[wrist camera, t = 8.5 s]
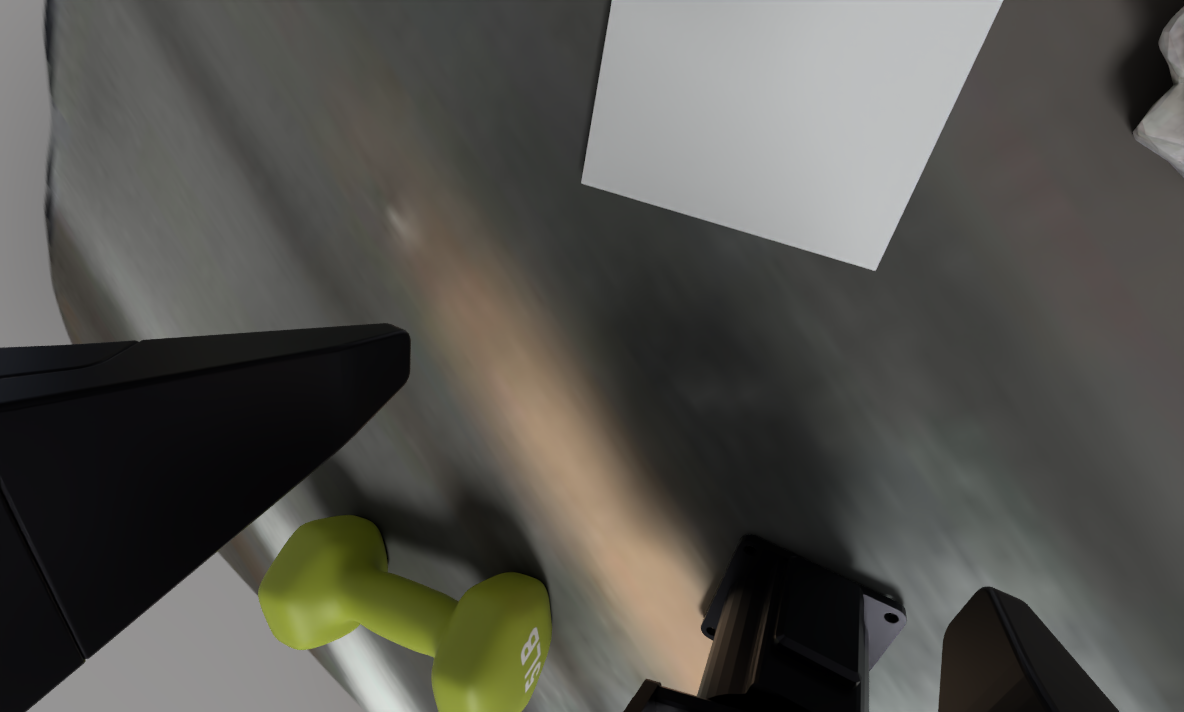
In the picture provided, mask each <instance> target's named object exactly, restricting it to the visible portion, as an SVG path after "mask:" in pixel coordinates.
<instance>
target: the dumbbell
mask: <svg viewBox="0 0 1184 712" xmlns="http://www.w3.org/2000/svg"><path fill="white" fill-rule="evenodd" d="M258 597H259V602H260V605H261V608H262V611H263V613H264V616H265V618H266V620H267V623H268V625H269V627H270V629H271V631H272V633H273V635H274V636H275V637H276V638H277V639H278V640H279V641H280V642H282V643H284V644H285V645H287V646H289V647H291V648H294V649H297V650H306V649H311V648H315V647H318V646H322V645H324V644H327V643H330V642H332V641H334V640H337V639H339V638H341V637H343V636H345V635H347V634H348V633H350V632H352V631H353V630H355V629H356V628H357V627H358V626H359V625H360V624H361V625H363V626H364V627H366V628H368V629H369V630H371V631H373V632H374V633H376V634H378V635H380V636H382V637H384V638H386V639H388V640H391V641H393V642H395V643H397V644H399V645H402V646H404V647H406V648H409V649H411V650H414V651H417V652H420V653H423V654H427V655H430V656H432V657H434V662H433V667H432V687H433V692H434V696H435V701H436V704H437V707H438V711H439V712H521V711H522V710H523V709H524V708H525V706H526V705H527V703H528V702H529V700H530V698H531V696H532V693H533V691H534V689H535V686H536V684H537V681H538V679H539V676H540V673H541V671H542V668H543V665H544V662H545V659H546V657H547V653H548V650H549V646H550V642H551V636H552V622H551V613H550V603H549V597H548V593H547V590H546V588H545V586H544V585H543V583H542V582H541V581H539V580H537V579H535V578H533V577H530V576H527V575H524V574H520V573H516V572H506V573H502V574H499V575H496V576H493V577H491V578H489V579H487V580H485V581H482V582H480V583H478V584H476V585H475V586H473V587H471V588H470V589H469V590H467V591H466V592H465V594H464V595H463V596H462V598H461V599H460V600H459V601H457V600H455V599H453V598H451V597H450V596H448V595H446V594H444V593H441V592H439V591H436V590H434V589H431V588H429V587H427V586H424V585H422V584H420V583H417V582H414V581H412V580H409V579H406V578H404V577H401V576H398V575H395V574H392V573H388V562H387V556H386V550H385V546H384V543H383V539H382V536H381V534H380V531H379V529H378V528H377V527H376V525H375V524H374V523H372V522H371V521H369V520H367V519H364V518H361V517H358V516H354V515H342V516H334V517H328V518H323V519H318V520H314V521H311V522H308V523H305V524H303V525H302V526H300V527H299V528H298V529H297V530H296V531H295V532H294V533H293V534H292V536H291V537H290V538H289V539H288V541H287V542H286V544H285V545H284V547H283V548H282V550H281V551H280V553H279V554H278V556H277V557H276V559H275V560H274V562H273V563H272V565H271V566H270V568H269V569H268V571H267V573H266V574H265V576H264V578H263V580H262V582H261V584H260V587H259V591H258Z"/></svg>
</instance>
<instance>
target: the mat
mask: <svg viewBox="0 0 1184 712" xmlns="http://www.w3.org/2000/svg"><path fill="white" fill-rule="evenodd" d="M1002 2H1003V0H612V3H611V9H610V15H609V21H608V27H607V33H606V39H605V45H604V51H603V57H602V63H601V68H600V74H599V80H598V86H597V92H596V98H595V104H594V110H593V116H592V122H591V128H590V134H589V140H588V146H587V152H586V158H585V163H584V169H583V175H582V181H581V184H585V185H588V186H592V187H595V188H598V189H602V190H605V191H608V192H612V193H615V194H618V195H622V196H625V197H629V198H632V199H635V200H639V201H642V202H645V203H649V204H652V205H655V206H659V207H662V208H666V209H669V210H672V211H676V212H679V213H682V214H686V215H689V216H692V217H696V218H699V219H703V220H706V221H709V222H713V223H716V224H719V225H723V226H726V227H729V228H733V229H736V230H740V231H743V232H746V233H750V234H753V235H756V236H760V237H763V238H766V239H770V240H773V241H777V242H780V243H783V244H787V245H790V246H793V247H797V248H800V249H803V250H807V251H810V252H814V253H817V254H820V255H824V256H827V257H830V258H834V259H837V260H840V261H844V262H847V263H851V264H854V265H857V266H861V267H864V268H867V269H871V270H874V271H876V269H877V266H878V264H879V262H880V260H881V258H882V256H883V254H884V252H885V250H886V247H887V245H888V243H889V241H890V239H891V237H892V235H893V233H894V230H895V228H896V226H897V224H898V222H899V220H900V218H901V216H902V214H903V211H904V209H905V207H906V205H907V203H908V201H909V199H910V197H911V194H912V192H913V190H914V188H915V186H916V184H917V182H918V180H919V178H920V175H921V173H922V171H923V169H924V167H925V165H926V163H927V161H928V158H929V156H930V154H931V152H932V150H933V148H934V146H935V144H936V142H937V139H938V137H939V135H940V133H941V131H942V129H943V127H944V125H945V122H946V120H947V118H948V116H949V114H950V112H951V110H952V108H953V106H954V103H955V101H956V99H957V97H958V95H959V93H960V91H961V89H962V86H963V84H964V82H965V80H966V78H967V76H968V74H969V72H970V70H971V67H972V65H973V63H974V61H975V59H976V57H977V55H978V53H979V50H980V48H981V46H982V44H983V42H984V40H985V38H986V36H987V34H988V31H989V29H990V27H991V25H992V23H993V21H994V19H995V17H996V15H997V12H998V10H999V8H1000V6H1001V4H1002Z"/></svg>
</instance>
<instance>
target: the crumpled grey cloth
mask: <svg viewBox="0 0 1184 712" xmlns="http://www.w3.org/2000/svg"><path fill="white" fill-rule="evenodd" d="M1158 44H1159V48H1160V50H1161V52H1162V54H1163V56H1164V58H1165V59H1166V61H1167V63H1168V65H1169V69H1170V73H1171V77H1172V81H1173V86H1172V87H1171V88H1170V89H1169V90H1168V91H1167V92H1166V93H1165V94H1164V95H1163V96H1162V97H1161V98H1160V99H1159V100H1158V101H1157V102H1156V103H1154V104H1153V105H1152V107H1151V108H1150V110H1149V111H1148V112H1147V114H1146V115H1145V117H1144V118H1143V119H1142V120H1141V122H1140V123H1139V124H1138V126H1137V127H1136V129H1135V130H1134V131H1133V135H1134V138H1135V140H1136V141H1138V142H1139V143H1141V144H1142V145H1144V146H1145V147H1147V148H1149V149H1150V150H1152V151H1153V152H1155V153H1156V154H1158V155H1159V156H1161V157H1162V158H1164V159H1165V160H1167V161H1168V162H1169V163H1170V164H1171V165H1172V166H1173V167H1174V168H1175V169H1176V170H1177V171H1178V172H1179V174H1180V175H1181V176H1182V177H1183V178H1184V6H1183V7H1182V8H1181V9H1180V10H1179V11H1178V12H1177V13H1176V14H1175V15H1174V16H1173V17H1172V18H1171V19H1170V21H1169V22H1168V23H1167V25H1166V26H1165V27H1164V29H1163V31H1162V34H1161V36H1160V39H1159V42H1158Z"/></svg>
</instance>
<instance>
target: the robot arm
mask: <svg viewBox="0 0 1184 712" xmlns="http://www.w3.org/2000/svg"><path fill="white" fill-rule="evenodd" d="M410 354H411V339H410V336H409V333H408V332H407V331H405V330H403V329H401V328H399V327H396V326H394V325H392V324H388V323H380V324H366V325H351V326H337V327H323V328H308V329H294V330H280V331H265V332H251V333H236V334H222V335H208V336H193V337H179V338H164V339H150V340H142V341H140V342H138V341H120V342H106V343H89V344H72V345H55V346H31V347H8V348H0V712H26V711H27V710H29V709H30V708H31V707H32V706H33V705H35V704H36V703H37V702H38V701H39V700H41V699H42V698H43V697H44V696H45V695H47V694H48V693H49V692H50V691H51V690H52V689H54V688H55V687H56V686H57V685H59V684H60V683H61V682H62V681H63V680H65V679H66V678H67V677H68V676H69V675H71V674H72V673H73V672H74V671H75V670H77V669H78V668H79V667H80V666H81V665H82V664H84V663H85V659H89V658H90V657H91V656H92V655H94V654H95V653H96V652H97V651H99V650H100V649H101V648H102V647H103V646H105V645H106V644H107V643H108V642H109V641H111V640H112V639H113V638H114V637H115V636H116V635H118V634H119V633H120V632H121V631H123V630H124V629H125V628H126V627H127V626H129V625H130V624H131V623H132V622H133V621H135V620H136V619H137V618H138V617H139V616H141V615H142V614H143V613H144V612H145V611H147V610H148V609H149V608H150V607H151V606H153V605H154V604H155V603H156V602H157V601H159V600H160V599H161V598H162V597H163V596H165V595H166V594H167V593H168V592H169V591H171V590H172V589H173V588H174V587H175V586H176V585H178V584H179V583H180V582H181V581H183V580H184V579H185V578H186V577H187V576H189V575H190V574H191V573H192V572H193V571H195V570H196V569H197V568H198V567H199V566H200V565H202V564H203V563H204V562H205V561H207V560H208V559H209V558H210V557H211V556H213V555H214V554H215V553H216V552H217V551H219V550H220V549H221V548H222V547H223V546H225V545H226V544H227V543H228V542H229V541H231V540H232V539H233V538H234V537H235V536H237V535H238V534H239V533H240V532H241V531H243V530H244V529H245V528H246V527H247V526H249V525H250V524H251V523H252V522H253V521H255V520H256V519H257V518H258V517H259V516H261V515H262V514H263V513H264V512H265V511H267V510H268V509H269V508H270V507H271V506H273V505H274V504H275V503H276V502H277V501H279V500H280V499H281V498H282V497H283V496H285V495H286V494H287V493H288V492H289V491H291V490H292V489H293V488H294V487H295V486H297V485H298V484H299V483H300V482H301V481H303V480H304V479H305V478H306V477H307V476H309V475H310V474H311V473H312V472H313V471H315V470H316V469H317V468H318V467H319V466H321V465H322V464H323V463H324V462H325V461H327V460H328V459H329V458H330V457H331V456H333V455H334V454H335V453H336V452H337V451H338V450H339V449H341V448H342V447H343V446H344V445H345V444H346V443H347V442H348V441H349V440H350V439H351V438H353V437H354V436H355V435H356V434H357V433H358V432H359V431H360V430H361V429H362V428H363V427H364V426H365V425H366V424H367V422H368V421H369V420H370V419H371V418H372V417H373V416H374V415H375V414H376V413H377V412H378V411H379V410H380V409H381V408H382V407H383V406H384V405H385V404H386V403H387V402H388V401H389V400H390V399H391V398H392V397H393V396H394V395H395V394H396V393H397V392H398V391H399V390H400V389H401V388H402V387H403V386H404V385H405V383H406V382H407V380H408V378H409V375H410ZM747 546H752V547H754V548H755V549H750V548H749V547H747ZM887 613H893V614H895V615H889V614H887ZM906 622H907V618H906V610H905V608H904V607H903V606H902V605H901V604H900V603H898V602H896V601H894V600H892V599H890V598H888V597H886V596H883V595H881V594H879V593H877V592H875V591H873V590H871V589H868V588H866V587H864V586H862V585H860V584H858V583H856V582H853V581H851V580H849V579H847V578H845V577H843V576H841V575H838V574H836V573H834V572H832V571H830V570H828V569H826V568H823V567H821V566H819V565H817V564H815V563H813V562H811V561H808V560H806V559H804V558H802V557H800V556H798V555H796V554H793V553H791V552H789V551H787V550H785V549H783V548H781V547H778V546H776V545H774V544H772V543H770V542H768V541H766V540H763V539H761V538H759V537H757V536H754V535H744V536H743V537H742V538H741V539H740V541H739V543H738V545H737V548H736V550H735V552H734V554H733V556H732V558H731V561H730V563H729V565H728V567H727V569H726V571H725V574H724V576H723V578H722V580H721V582H720V584H719V587H718V589H717V591H716V593H715V595H714V597H713V600H712V602H711V604H710V606H709V608H708V611H707V613H706V615H705V617H704V619H703V622H702V625H701V631H702V633H703V634H704V635H705V636H706V637H708V638H709V639H711V640H713V643H712V647H711V650H710V653H709V657H708V660H707V664H706V667H705V670H704V674H703V677H702V681H701V684H700V687H699V691H698V694H697V696H694V695H691V694H687V693H684V692H681V691H677V690H674V689H670V688H667V687H664V686H661V683H660V682H656V681H653V680H649V679H645V681H644V682H643V684H642V685H641V687H640V688H639V690H638V691H637V693H636V695H635V696H634V697H633V698H632V700H631V701H630V703H629V704H628V706H627V707H626V709H625V710H624V712H869V671H870V670H871V669H872V667H873V666H874V665H875V664H876V662H877V661H878V660H879V658H880V657H881V656H882V654H883V653H884V652H885V651H886V649H887V648H888V647H889V645H890V644H891V643H892V641H893V640H894V639H895V638H896V636H897V635H898V634H899V632H900V631H901V630H902V629H903V627H904V626H905V624H906ZM938 712H1119V711H1118V709H1117V708H1116V707H1115V706H1114V705H1113V704H1112V702H1111V701H1110V700H1109V699H1108V698H1107V697H1106V695H1105V694H1104V693H1103V692H1102V691H1101V690H1100V688H1099V687H1098V686H1097V685H1096V684H1095V683H1094V681H1093V680H1092V679H1091V678H1090V677H1089V676H1088V674H1087V673H1086V672H1085V671H1084V670H1083V669H1082V668H1081V666H1080V665H1079V664H1078V663H1077V662H1076V661H1075V659H1074V658H1073V657H1072V656H1071V655H1070V654H1069V652H1068V651H1067V650H1066V649H1065V648H1064V647H1063V645H1062V644H1061V643H1060V642H1059V641H1058V640H1057V638H1056V637H1055V636H1054V635H1053V634H1052V633H1051V631H1050V630H1049V629H1048V628H1047V627H1046V626H1045V625H1044V623H1043V622H1042V621H1041V620H1040V619H1039V618H1038V616H1037V615H1036V614H1035V613H1034V612H1033V611H1032V609H1031V608H1030V607H1029V606H1028V605H1027V604H1026V603H1025V602H1023V601H1022V600H1020V599H1018V598H1016V597H1013V596H1011V595H1009V594H1007V593H1004V592H1002V591H1000V590H997V589H995V588H993V587H982V588H981V589H979V590H978V591H977V592H976V593H975V594H974V595H973V596H972V597H971V599H970V600H969V601H968V602H967V603H966V605H965V606H964V607H963V608H962V609H961V611H960V612H959V613H958V614H957V615H956V617H955V618H954V619H953V620H952V621H951V623H950V624H949V626H948V627H947V629H946V632H945V635H944V639H943V650H942V664H941V679H940V694H939V709H938Z"/></svg>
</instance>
